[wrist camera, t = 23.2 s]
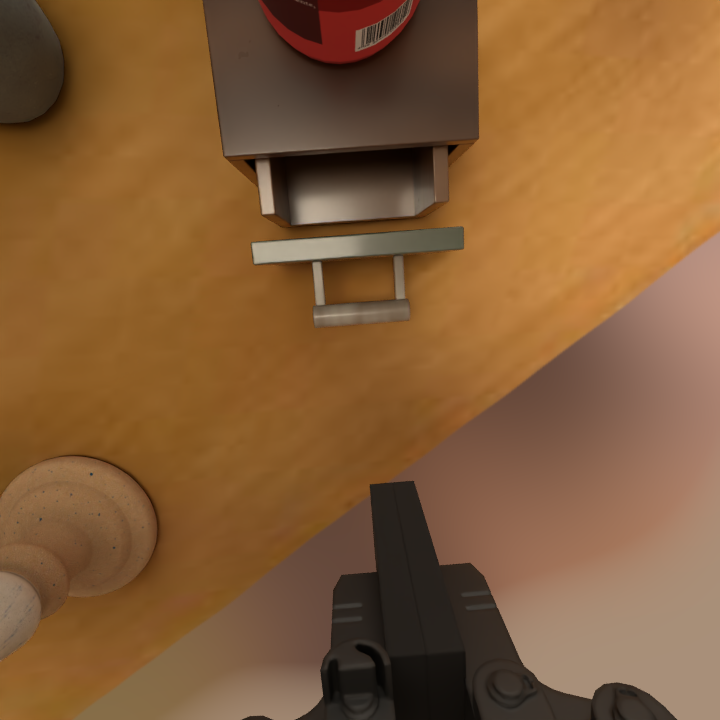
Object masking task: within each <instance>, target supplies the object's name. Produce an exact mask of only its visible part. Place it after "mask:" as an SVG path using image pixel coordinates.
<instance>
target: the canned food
mask: <svg viewBox="0 0 720 720" xmlns="http://www.w3.org/2000/svg"><path fill="white" fill-rule="evenodd" d="M258 1H259V3H260V5H261V7H262V9H263V11H264V13H265V15H266V17H267V19H268V21H269V22H270V23H271V25H272V26H273V27H274V29H275V30H276V31H277V33H278V34H279V35H280V36H281V37H282V38H283V39H285V40H286V41H287V42H288V43H289V44H290V45H291V46H292V47H294V48H295V49H296V50H298V51H299V52H301V53H303V54H304V55H306V56H308V57H310V58H312V59H315V60H318V61H321V62H324V63H332V64H346V63H353V62H357V61H360V60H363V59H365V58H368V57H370V56H372V55H374V54H375V53H377V52H378V51H380V50H381V49H383V48H384V47H385V46H387V45H388V44H389V43H390V42H391V41H392V40H393V39H394V38H395V37H396V36H397V35H398V34H399V33H400V32H401V31H402V30H403V28H404V27H405V26H406V24H407V23H408V21H409V20H410V19H411V17H412V16H413V14H414V11H415V9H416V7H417V5H418V3H419V1H420V0H258Z"/></svg>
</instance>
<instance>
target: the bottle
mask: <svg viewBox="0 0 720 720" xmlns="http://www.w3.org/2000/svg"><path fill="white" fill-rule="evenodd" d="M63 77H64V59H63V54H62V50H61V46H60V42H59V39H58V37H57V35H56V33H55V32H54V30H53V28H52V26H51V24H50V22H49V20H48V19H47V17H46V16H45V14H44V13H43V11H42V10H41V8H40V7H39V5H38V4H37V2H36V1H35V0H0V123H18V122H29V121H31V120H33V119H35V118H37V117H39V116H41V115H43V114H45V112H46V111H47V110H48V109H49V108H50V107H51V106H52V105H53V103H54V102H55V101H56V100H57V97H58V95H59V92H60V89H61V87H62V84H63Z"/></svg>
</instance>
